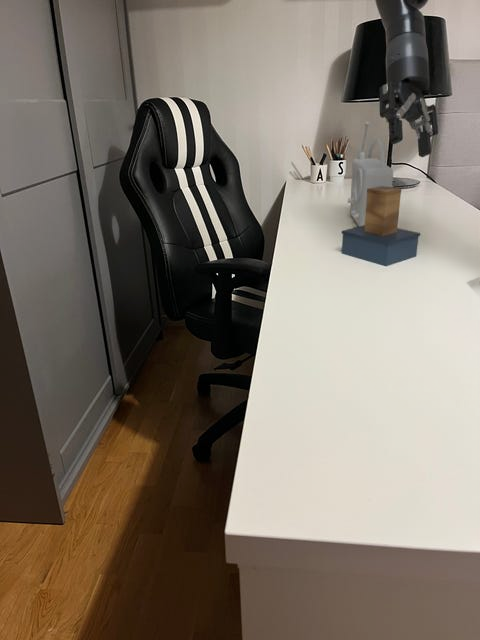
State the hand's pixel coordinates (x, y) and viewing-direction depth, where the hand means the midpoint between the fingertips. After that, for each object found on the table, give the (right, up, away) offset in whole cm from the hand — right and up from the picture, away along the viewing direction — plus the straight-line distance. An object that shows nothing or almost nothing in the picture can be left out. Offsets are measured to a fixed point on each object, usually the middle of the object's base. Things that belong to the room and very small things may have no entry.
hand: (411, 149), depth 91 cm
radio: (+2, -5, +43) cm, 43 cm away
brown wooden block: (-2, -13, +14) cm, 19 cm away
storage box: (-1, -17, +17) cm, 24 cm away
